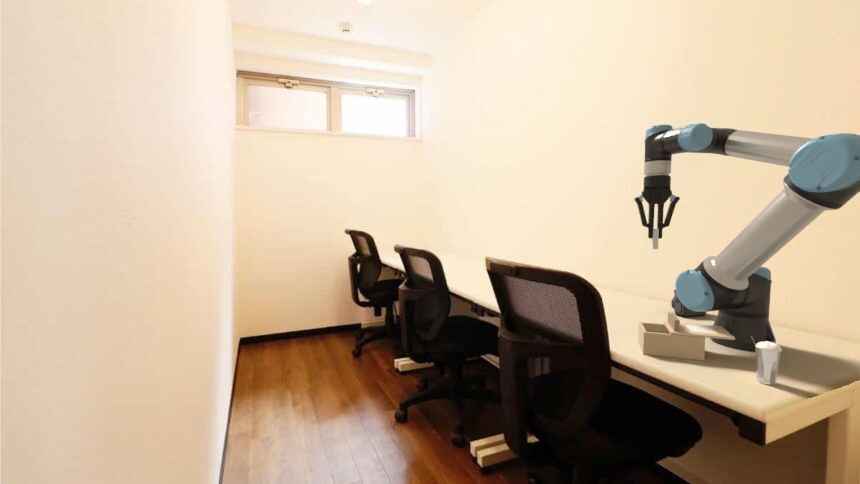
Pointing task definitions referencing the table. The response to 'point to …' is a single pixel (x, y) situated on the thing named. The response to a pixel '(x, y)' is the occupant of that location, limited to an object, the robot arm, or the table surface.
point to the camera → (683, 308)
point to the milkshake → (767, 362)
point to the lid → (695, 329)
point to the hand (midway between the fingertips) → (654, 248)
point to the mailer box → (669, 342)
